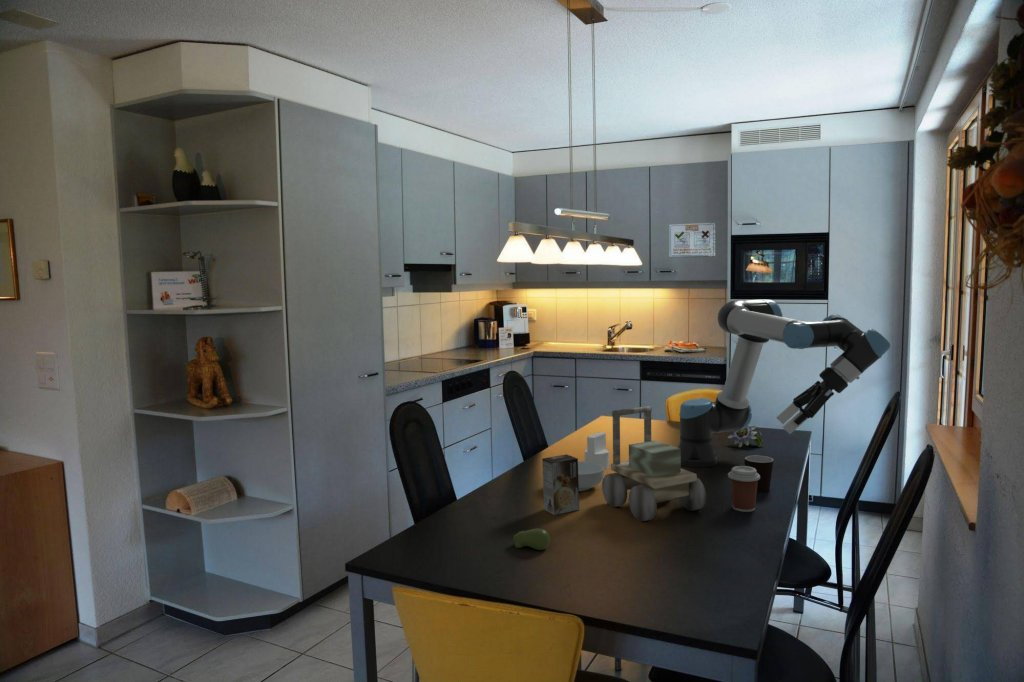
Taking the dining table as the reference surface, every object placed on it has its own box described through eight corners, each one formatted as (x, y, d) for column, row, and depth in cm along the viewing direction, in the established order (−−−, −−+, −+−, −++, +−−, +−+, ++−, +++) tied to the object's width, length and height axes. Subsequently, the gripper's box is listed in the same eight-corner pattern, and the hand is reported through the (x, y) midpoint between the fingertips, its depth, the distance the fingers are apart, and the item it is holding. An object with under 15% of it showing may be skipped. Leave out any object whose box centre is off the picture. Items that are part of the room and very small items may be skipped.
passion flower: (740, 460, 272) (722, 436, 273) (747, 449, 281) (729, 426, 282) (763, 448, 265) (745, 423, 267) (769, 437, 274) (751, 413, 275)
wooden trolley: (602, 501, 209) (601, 410, 207) (655, 491, 218) (654, 403, 216) (649, 526, 188) (649, 424, 185) (706, 513, 197) (706, 416, 194)
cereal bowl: (613, 486, 225) (613, 465, 224) (584, 499, 212) (583, 477, 212) (573, 477, 236) (573, 457, 236) (543, 488, 224) (542, 468, 223)
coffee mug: (775, 493, 213) (775, 462, 212) (747, 492, 215) (747, 462, 214) (769, 482, 224) (769, 453, 223) (742, 481, 226) (742, 452, 225)
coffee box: (568, 504, 208) (567, 453, 207) (579, 510, 202) (579, 458, 201) (542, 509, 204) (541, 457, 202) (553, 515, 198) (552, 462, 197)
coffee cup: (726, 511, 198) (727, 472, 197) (728, 501, 206) (728, 463, 205) (759, 514, 195) (760, 474, 194) (760, 504, 203) (760, 466, 202)
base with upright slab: (601, 471, 242) (601, 438, 241) (580, 467, 248) (579, 435, 247) (613, 465, 250) (613, 434, 248) (592, 462, 255) (592, 431, 254)
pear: (542, 533, 170) (508, 533, 175) (545, 553, 170) (511, 553, 175) (551, 525, 175) (517, 526, 180) (554, 545, 175) (521, 545, 180)
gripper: (860, 391, 178) (799, 444, 183) (839, 378, 202) (785, 425, 207) (839, 371, 179) (778, 425, 184) (820, 360, 203) (767, 408, 208)
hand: (782, 425), depth 196 cm, fingers open, 13 cm apart
